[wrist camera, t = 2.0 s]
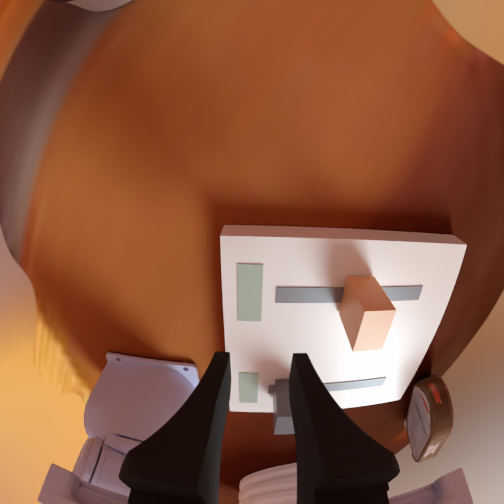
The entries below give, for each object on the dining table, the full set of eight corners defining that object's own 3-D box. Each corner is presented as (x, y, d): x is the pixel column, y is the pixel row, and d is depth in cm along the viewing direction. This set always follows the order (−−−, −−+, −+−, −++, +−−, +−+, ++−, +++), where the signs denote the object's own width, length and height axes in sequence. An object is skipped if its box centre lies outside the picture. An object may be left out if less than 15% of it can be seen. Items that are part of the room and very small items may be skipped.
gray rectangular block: (272, 399, 23) (274, 434, 19) (275, 379, 22) (277, 416, 18) (294, 399, 23) (298, 433, 19) (299, 379, 21) (303, 416, 18)
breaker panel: (231, 395, 26) (230, 411, 24) (224, 224, 18) (219, 236, 16) (394, 386, 26) (400, 400, 24) (453, 234, 18) (467, 245, 16)
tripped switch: (338, 313, 19) (352, 351, 15) (346, 276, 17) (364, 311, 14) (364, 313, 19) (382, 349, 15) (374, 276, 17) (396, 309, 14)
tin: (418, 420, 30) (434, 463, 22) (399, 427, 30) (414, 472, 23) (434, 359, 24) (465, 415, 16) (410, 369, 24) (437, 429, 17)
